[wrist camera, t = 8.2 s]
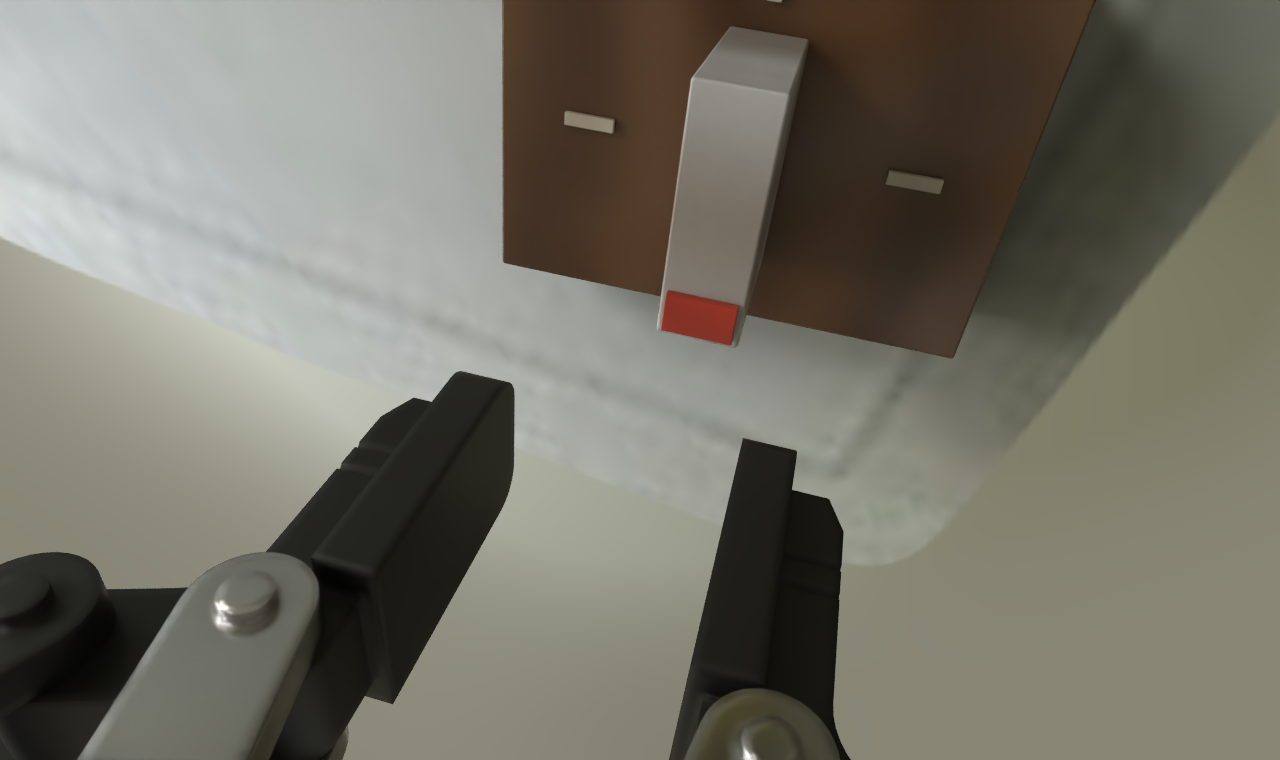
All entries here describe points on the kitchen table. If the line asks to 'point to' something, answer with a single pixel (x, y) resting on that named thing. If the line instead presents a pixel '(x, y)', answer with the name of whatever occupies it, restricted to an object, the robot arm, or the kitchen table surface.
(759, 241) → the tap lever
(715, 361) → the kitchen table surface
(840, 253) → the base
